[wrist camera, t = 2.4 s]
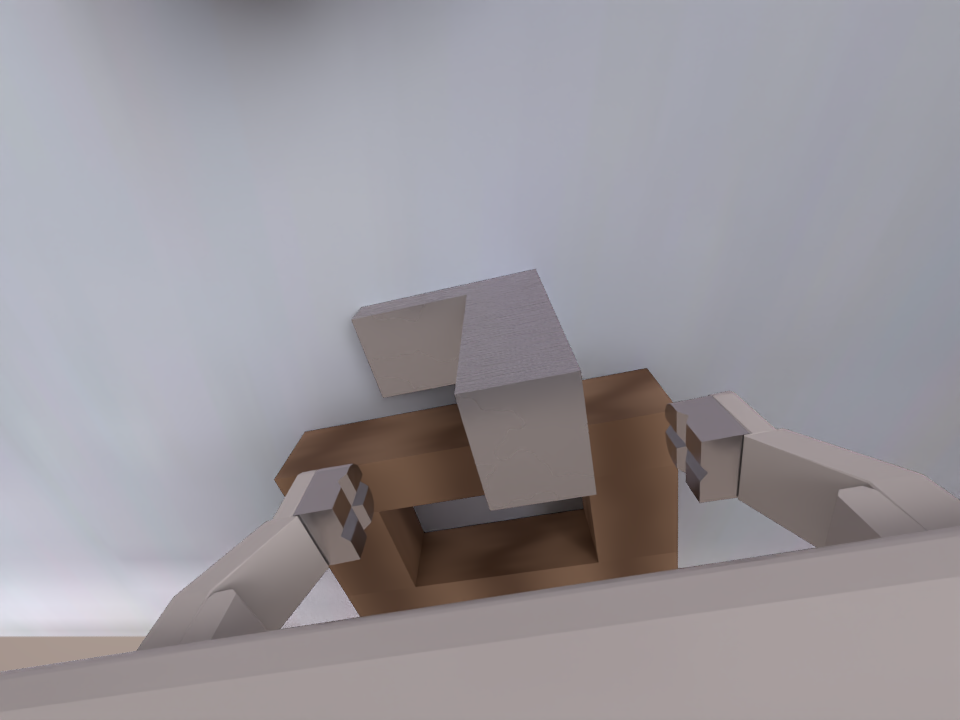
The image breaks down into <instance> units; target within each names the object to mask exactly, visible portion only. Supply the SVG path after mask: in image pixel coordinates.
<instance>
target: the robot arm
mask: <svg viewBox="0 0 960 720" xmlns="http://www.w3.org/2000/svg"><path fill="white" fill-rule="evenodd" d="M665 418H666V419H667V421H668V422H669V424H670V426H669V427H668V429H667V430H666V432H665V434H666V444H667V448H668V452H669V455H670V457H671V459H672V461H673V463H674V464H675V466H676V468H677V469H679V470H681V471H683V472H685V473H686V483H687V485H688V486H689V488H690V489H691V491H692V492H693V494H694V495H695V497H696V498H697V500H698V501H699V503H702V502H709V501H716V500H724V499H731V498H738V499H739V500H740V501H742V502H743V503H745V504H747V505H748V506H750V507H752V508H753V509H755V510H756V511H758V512H760V513H761V514H763V515H765V516H766V517H768V518H769V519H771V520H773V521H774V522H776V523H778V524H779V525H781V526H783V527H784V528H786V529H787V530H789V531H791V532H792V533H794V534H796V535H797V536H799V537H800V538H802V539H804V540H805V541H807V542H809V543H810V544H812V545H813V546H815V547H817V548H811V549H804V550H798V551H791V552H785V553H778V554H772V555H765V556H758V557H752V558H745V559H739V560H732V561H726V562H719V563H712V564H706V565H699V566H693V567H686V568H679V569H673V570H666V571H660V572H653V573H647V574H640V575H633V576H627V577H620V578H614V579H607V580H600V581H594V582H587V583H581V584H574V585H567V586H561V587H554V588H548V589H541V590H535V591H528V592H521V593H515V594H508V595H502V596H495V597H489V598H482V599H475V600H469V601H462V602H456V603H449V604H443V605H436V606H429V607H423V608H416V609H410V610H403V611H397V612H390V613H383V614H377V615H370V616H364V617H357V618H351V619H344V620H337V621H331V622H324V623H318V624H311V625H305V626H298V627H292V628H285V629H281V627H282V626H283V625H284V624H285V622H286V621H287V620H288V618H289V617H290V616H291V615H292V613H293V612H294V611H295V610H296V608H297V607H298V606H299V605H300V603H301V602H302V601H303V600H304V598H305V597H306V596H307V595H308V593H309V592H310V591H311V589H312V588H313V587H314V586H315V584H316V583H317V582H318V581H319V579H320V578H321V577H322V576H323V574H324V573H325V572H326V571H327V569H328V568H329V565H334V564H339V563H344V562H349V561H354V560H359V559H361V556H362V552H363V549H364V546H365V542H366V539H367V535H366V533H365V531H364V529H365V528H366V527H367V526H368V525H369V524H370V523H371V521H372V517H373V514H374V500H373V496H372V493H371V490H370V488H369V486H367V485H366V484H364V483H362V482H361V478H362V475H363V474H362V472H361V470H360V468H359V466H358V465H356V464H354V463H353V464H347V465H341V466H335V467H329V468H323V469H319V470H312V471H307V472H302V473H301V474H299V475H297V477H296V479H295V481H294V482H293V484H292V486H291V488H290V489H289V491H288V493H287V495H286V496H285V498H284V500H283V502H282V503H281V505H280V507H279V509H278V510H277V512H276V514H275V516H274V517H273V519H272V520H271V521H266V522H265V523H264V524H262V525H261V526H260V527H259V528H258V529H256V530H255V531H254V532H253V533H251V534H250V535H249V536H248V537H247V538H245V539H244V540H243V541H242V542H240V543H239V544H238V545H237V546H235V547H234V548H233V549H232V550H231V551H229V552H228V553H227V554H226V555H224V556H223V557H222V558H221V559H220V560H218V561H217V562H216V563H215V564H213V565H212V566H211V567H210V568H209V569H207V570H206V571H205V572H204V573H202V574H201V575H200V576H199V577H198V578H196V579H195V580H194V581H193V582H191V583H190V584H189V585H188V586H187V587H185V588H184V589H183V590H182V591H180V592H179V593H178V594H177V595H176V596H174V597H173V599H172V600H171V601H170V603H169V604H168V606H167V607H166V609H165V610H164V612H163V613H162V614H161V616H160V617H159V619H158V620H157V622H156V623H155V625H154V626H153V627H152V629H151V630H150V632H149V633H148V635H147V636H146V638H145V639H144V640H143V642H142V643H141V645H140V646H139V648H138V649H137V651H134V652H127V653H122V654H115V655H108V656H101V657H95V658H88V659H82V660H75V661H68V662H62V663H56V664H49V665H42V666H36V667H30V668H22V669H16V670H9V671H2V672H0V720H960V500H959V499H957V498H956V497H954V496H953V495H952V494H950V493H949V492H947V491H946V490H945V489H943V488H942V487H940V486H939V485H937V484H936V483H935V482H933V481H932V480H930V479H929V478H928V477H926V476H925V475H923V474H920V473H917V472H914V471H911V470H908V469H905V468H902V467H899V466H896V465H893V464H890V463H887V462H884V461H881V460H878V459H875V458H872V457H869V456H866V455H863V454H860V453H857V452H854V451H851V450H848V449H845V448H842V447H838V446H835V445H832V444H829V443H826V442H823V441H820V440H817V439H814V438H811V437H808V436H805V435H802V434H799V433H796V432H793V431H790V430H787V429H784V428H781V429H775V428H774V427H773V426H772V425H771V424H769V423H768V422H767V421H766V420H765V419H764V418H763V417H762V416H760V415H759V414H758V413H757V412H756V411H755V410H754V409H753V408H751V407H750V406H749V405H748V404H747V403H746V402H745V401H744V400H742V399H741V398H740V397H739V396H738V395H737V394H736V393H734V392H732V391H725V392H720V393H716V394H711V395H708V396H705V397H699V398H694V399H689V400H684V401H679V402H674V403H669V404H666V408H665Z"/></svg>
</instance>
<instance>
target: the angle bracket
mask: <svg viewBox="0 0 960 720" xmlns="http://www.w3.org/2000/svg"><path fill="white" fill-rule="evenodd" d="M352 323H353V325H354V327H355V330H356V332H357V335H358V337H359V340H360V342H361V345H362V347H363V350H364V352H365V355H366V357H367V359H368V362H369V364H370V367H371V369H372V372H373V374H374V377H375V379H376V382H377V384H378V387H379V389H380V392H381V394H382V396H383V398H385V397H390V396H395V395H400V394H406V393H411V392H416V391H421V390H426V389H432V388H437V387H442V386H447V385H453V384H456V385H455V394H454V395H455V398H456V402H457V405H458V408H459V411H460V415H461V418H462V421H463V424H464V428H465V431H466V434H467V438H468V441H469V444H470V447H471V451H472V454H473V457H474V460H475V464H476V467H477V470H478V474H479V477H480V480H481V483H482V487H483V490H484V493H485V496H486V500H487V503H488V506H489V510H490V511H493V510H499V509H506V508H512V507H519V506H525V505H532V504H538V503H545V502H551V501H558V500H564V499H571V498H577V497H584V496H590V495H597V494H596V486H595V479H594V471H593V463H592V455H591V447H590V439H589V431H588V423H587V415H586V407H585V399H584V391H583V384H582V376H581V370H580V368H579V365H578V363H577V361H576V359H575V356H574V354H573V352H572V349H571V347H570V345H569V343H568V340H567V338H566V336H565V334H564V331H563V329H562V327H561V325H560V322H559V320H558V318H557V316H556V313H555V311H554V309H553V307H552V304H551V302H550V300H549V298H548V295H547V293H546V291H545V289H544V286H543V284H542V282H541V280H540V277H539V275H538V273H537V271H536V269H533V270H528V271H524V272H519V273H515V274H510V275H506V276H501V277H497V278H492V279H488V280H483V281H478V282H474V283H469V284H465V285H460V286H456V287H451V288H447V289H442V290H438V291H433V292H429V293H424V294H420V295H415V296H411V297H406V298H401V299H397V300H392V301H388V302H383V303H379V304H374V305H370V306H365V307H361V308H360V310H359V311H358V312H357V313H356V315H355V316H354V317H353V318H352Z"/></svg>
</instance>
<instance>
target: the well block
mask: <svg viewBox="0 0 960 720" xmlns="http://www.w3.org/2000/svg"><path fill="white" fill-rule="evenodd" d="M582 384H583V391H584V399H585V407H586V415H587V423H588V431H589V439H590V447H591V455H592V463H593V471H594V479H595V486H596V494H597V495H590V496H584V497H582V501H583V507H584V509H581V510H574V511H567V512H561V513H554V514H547V515H541V516H534V517H527V518H521V519H514V520H507V521H500V522H494V523H487V524H480V525H474V526H467V527H460V528H454V529H447V530H440V531H434V532H427V533H424V532H423V529H422V527H421V525H420V522H419V520H418V518H417V515H416V513H415V511H414V508H413V506H418V505H425V504H431V503H437V502H444V501H450V500H456V499H463V498H469V497H475V496H481V495H485V493H484V490H483V487H482V483H481V480H480V477H479V474H478V470H477V467H476V464H475V460H474V457H473V454H472V451H471V447H470V444H469V441H468V438H467V434H466V431H465V428H464V424H463V421H462V418H461V415H460V411H459V408H458V405H457V404H452V405H447V406H442V407H436V408H431V409H425V410H420V411H415V412H409V413H404V414H399V415H393V416H388V417H382V418H377V419H372V420H366V421H361V422H356V423H350V424H345V425H340V426H334V427H329V428H323V429H318V430H313V431H307V432H304V434H303V436H302V437H301V439H300V440H299V442H298V443H297V445H296V446H295V448H294V450H293V451H292V453H291V454H290V456H289V457H288V459H287V460H286V462H285V463H284V465H283V467H282V468H281V470H280V471H279V473H278V474H277V476H276V477H275V479H274V480H275V482H276V484H277V485H278V487H279V488H280V490H281V491H282V493H283V495H284V496H286V495H287V493H288V491H289V489H290V488H291V486H292V484H293V482H294V481H295V479H296V477H297V475H299V474H301V473H302V472H307V471H312V470H319V469H323V468H329V467H335V466H341V465H347V464H353V463H354V464H356V465H358V466H359V468H360V470H361V472H362V474H363V475H362V478H361V482H362V483H364V484H366V485H367V486H369V488H370V490H371V493H372V496H373V500H374V514H373V517H372V521H371V523H370V524H369V525H368V526H367V527H366V528H365V529H364V531H365V533H366V535H367V539H366V542H365V546H364V549H363V552H362V556H361V559H359V560H354V561H349V562H344V563H339V564H334V565H329V568H330V569H331V571H332V573H333V574H334V576H335V577H336V579H337V581H338V582H339V584H340V585H341V587H342V588H343V590H344V592H345V593H346V595H347V596H348V598H349V600H350V601H351V603H352V604H353V606H354V608H355V609H356V611H357V612H358V614H359V615H360V617H364V616H370V615H377V614H383V613H390V612H397V611H403V610H410V609H416V608H423V607H429V606H436V605H443V604H449V603H456V602H462V601H469V600H475V599H482V598H489V597H495V596H502V595H508V594H515V593H521V592H528V591H535V590H541V589H548V588H554V587H561V586H567V585H574V584H581V583H587V582H594V581H600V580H607V579H614V578H620V577H627V576H633V575H640V574H647V573H653V572H660V571H666V570H673V569H678V469H677V468H676V466H675V464H674V463H673V461H672V459H671V457H670V455H669V452H668V448H667V444H666V434H665V432H666V430H667V429H668V427H669V426H670V424H669V422H668V421H667V419H666V418H665V408H666V404H669V403H673V402H672V401H671V399H670V398H669V397H668V395H667V394H666V393H665V391H664V390H663V389H662V387H661V386H660V385H659V383H658V382H657V381H656V379H655V378H654V377H653V375H652V374H651V373H650V372H649V370H648V369H647V368H645V369H640V370H635V371H629V372H624V373H619V374H613V375H608V376H602V377H597V378H592V379H586V380H582Z"/></svg>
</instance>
